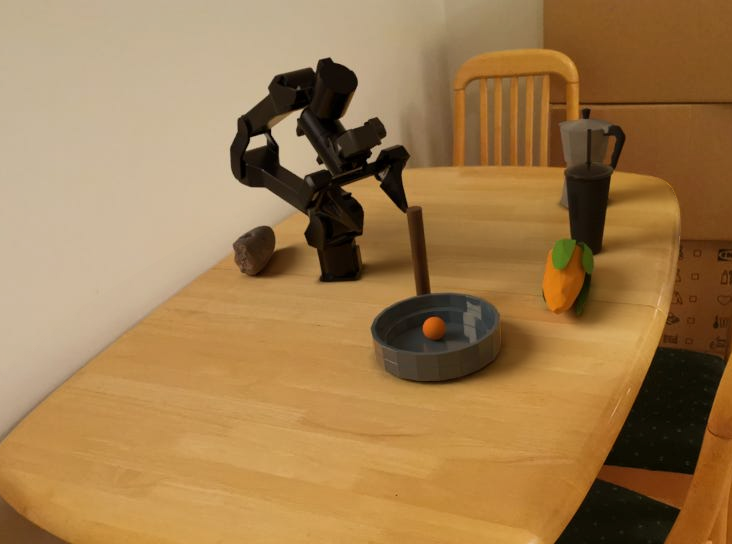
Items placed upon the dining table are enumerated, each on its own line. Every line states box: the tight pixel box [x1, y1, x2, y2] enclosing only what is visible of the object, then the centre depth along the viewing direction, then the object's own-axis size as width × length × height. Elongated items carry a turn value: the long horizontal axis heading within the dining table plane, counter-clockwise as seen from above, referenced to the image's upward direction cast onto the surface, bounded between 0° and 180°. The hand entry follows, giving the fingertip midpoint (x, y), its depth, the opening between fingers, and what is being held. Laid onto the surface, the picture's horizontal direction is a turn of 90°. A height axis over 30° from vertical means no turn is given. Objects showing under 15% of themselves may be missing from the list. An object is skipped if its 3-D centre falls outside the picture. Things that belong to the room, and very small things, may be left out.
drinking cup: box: [563, 129, 614, 256], centre depth 112 cm, size 8×8×20 cm
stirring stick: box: [406, 205, 432, 296], centre depth 101 cm, size 4×4×16 cm
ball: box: [423, 317, 446, 340], centre depth 95 cm, size 3×3×3 cm
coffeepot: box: [557, 107, 627, 209], centre depth 131 cm, size 15×9×18 cm, turn 37°
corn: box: [541, 238, 595, 316], centre depth 101 cm, size 7×8×20 cm
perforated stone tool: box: [232, 225, 277, 276], centre depth 127 cm, size 15×5×7 cm, turn 167°
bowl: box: [369, 291, 502, 382], centre depth 93 cm, size 17×17×4 cm
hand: (384, 221), depth 104 cm, fingers open, 9 cm apart
